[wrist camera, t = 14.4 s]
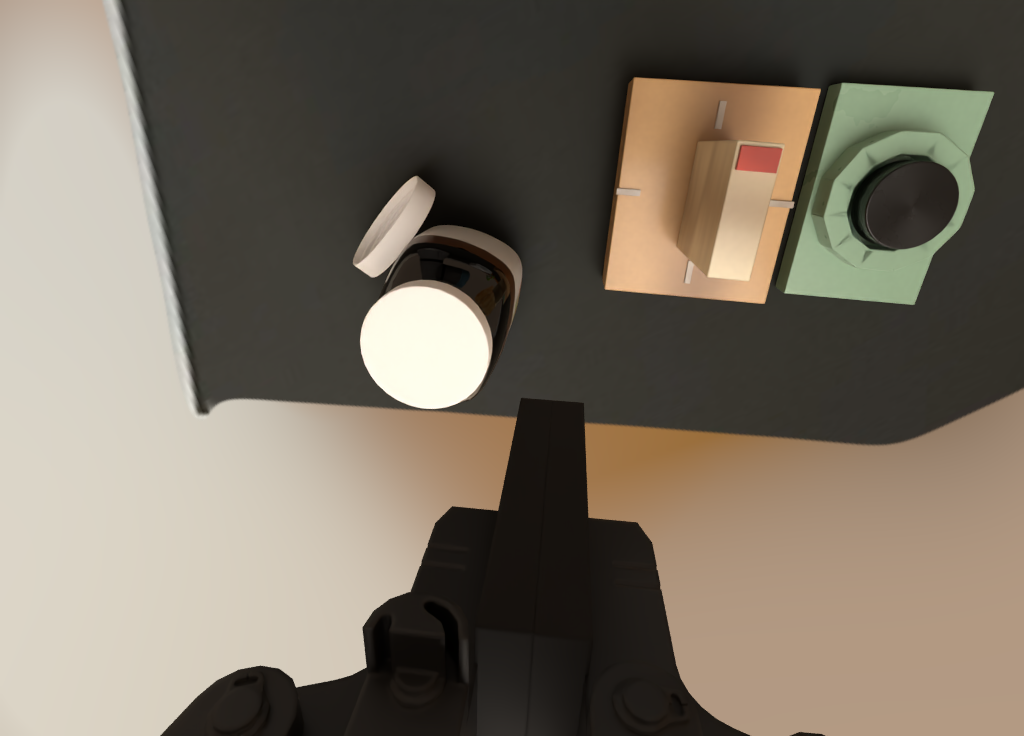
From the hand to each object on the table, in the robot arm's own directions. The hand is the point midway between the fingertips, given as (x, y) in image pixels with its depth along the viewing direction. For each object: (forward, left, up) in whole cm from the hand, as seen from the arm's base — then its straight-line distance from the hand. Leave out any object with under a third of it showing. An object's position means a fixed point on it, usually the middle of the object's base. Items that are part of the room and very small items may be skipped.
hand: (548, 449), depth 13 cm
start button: (-5, +18, -22) cm, 29 cm away
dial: (-5, +8, -22) cm, 24 cm away
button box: (-5, +18, -25) cm, 32 cm away
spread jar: (+2, -8, -26) cm, 27 cm away
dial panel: (-5, +8, -25) cm, 27 cm away
